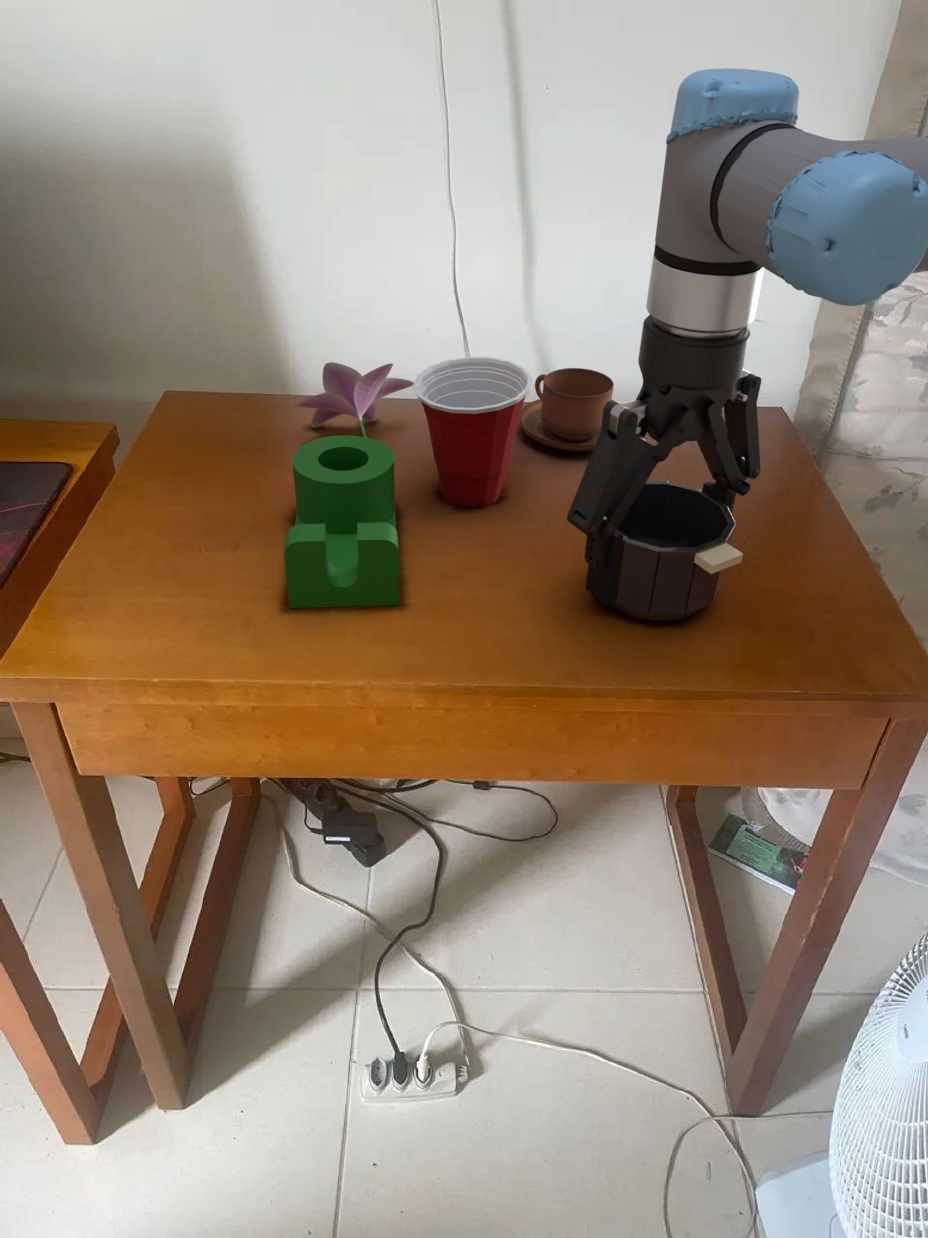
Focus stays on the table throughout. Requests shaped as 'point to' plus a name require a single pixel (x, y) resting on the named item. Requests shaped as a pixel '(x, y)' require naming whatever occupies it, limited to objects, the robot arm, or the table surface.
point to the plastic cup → (472, 423)
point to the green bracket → (343, 525)
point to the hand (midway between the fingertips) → (653, 574)
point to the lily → (352, 393)
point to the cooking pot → (674, 549)
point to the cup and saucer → (568, 409)
